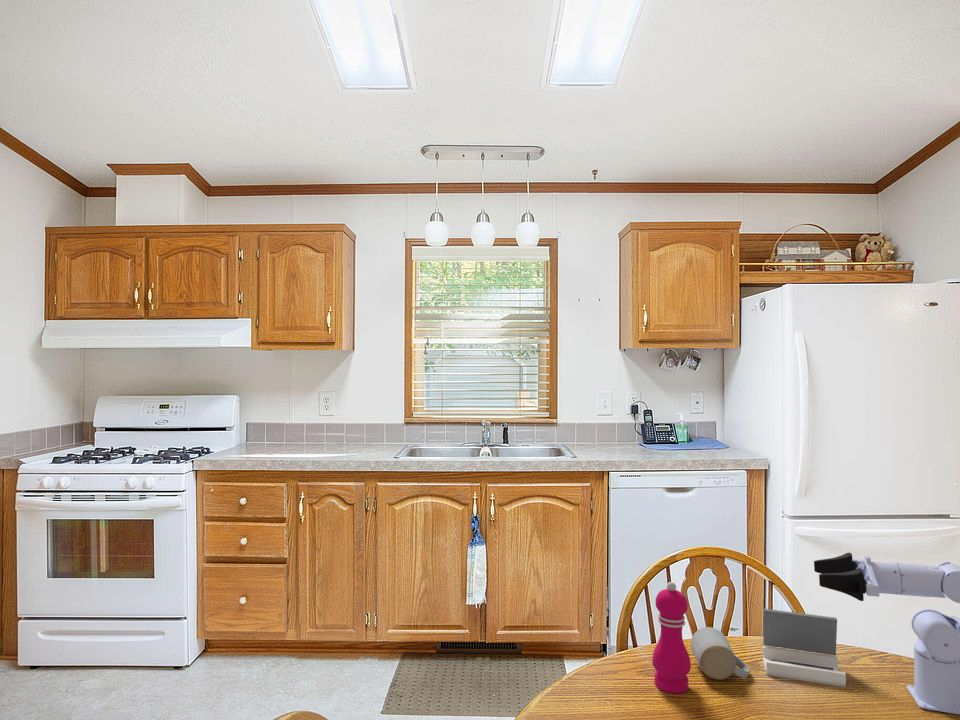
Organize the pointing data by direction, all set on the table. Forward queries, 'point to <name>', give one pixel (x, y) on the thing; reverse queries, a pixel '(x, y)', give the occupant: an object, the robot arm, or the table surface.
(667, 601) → the pepper mill
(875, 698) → the table surface
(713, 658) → the ceramic mug
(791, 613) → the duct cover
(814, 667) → the cable duct
